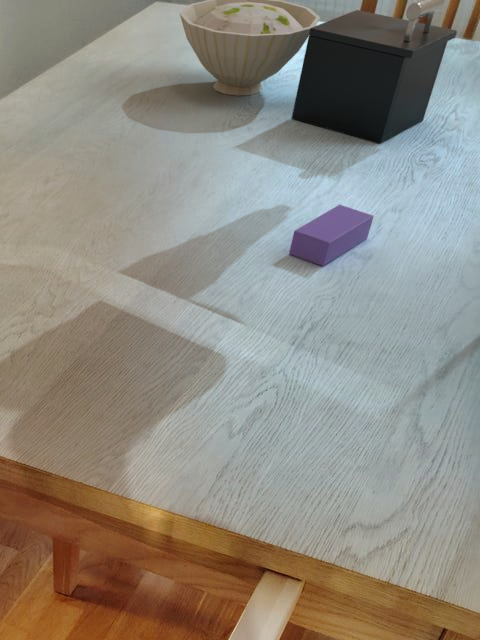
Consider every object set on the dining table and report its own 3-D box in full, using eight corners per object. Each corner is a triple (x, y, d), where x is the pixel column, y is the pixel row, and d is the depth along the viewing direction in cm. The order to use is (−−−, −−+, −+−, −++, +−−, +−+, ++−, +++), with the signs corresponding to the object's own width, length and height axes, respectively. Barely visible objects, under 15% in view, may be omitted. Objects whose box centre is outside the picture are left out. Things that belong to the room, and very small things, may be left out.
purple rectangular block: (333, 227, 100) (339, 204, 98) (367, 238, 98) (374, 215, 96) (288, 254, 96) (293, 230, 94) (323, 266, 94) (329, 242, 92)
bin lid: (455, 37, 113) (469, -8, 110) (410, 58, 108) (424, 11, 105) (355, 16, 120) (365, -27, 117) (308, 35, 115) (318, -10, 111)
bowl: (172, 64, 138) (181, -14, 131) (300, 68, 136) (317, -11, 129) (169, 107, 126) (179, 23, 118) (310, 113, 124) (329, 28, 116)
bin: (423, 120, 121) (449, 37, 114) (380, 143, 116) (404, 57, 109) (335, 97, 128) (354, 17, 120) (291, 118, 122) (308, 35, 115)
